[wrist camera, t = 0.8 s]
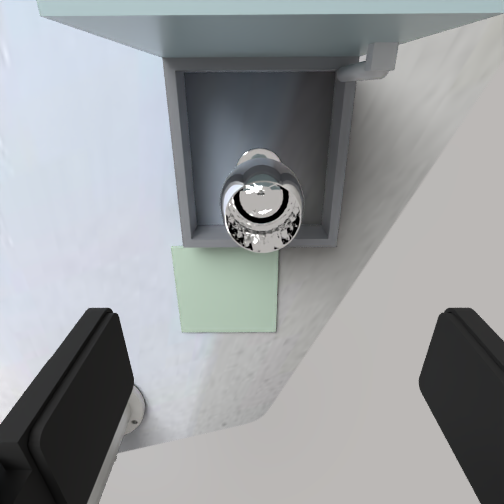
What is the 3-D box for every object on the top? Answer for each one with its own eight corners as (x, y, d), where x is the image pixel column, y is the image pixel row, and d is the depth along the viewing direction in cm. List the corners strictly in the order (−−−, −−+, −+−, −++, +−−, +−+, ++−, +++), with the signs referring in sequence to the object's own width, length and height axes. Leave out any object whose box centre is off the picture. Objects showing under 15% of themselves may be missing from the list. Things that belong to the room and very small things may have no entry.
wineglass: (218, 186, 31) (200, 238, 20) (244, 128, 29) (240, 152, 18) (272, 212, 32) (282, 274, 21) (301, 158, 30) (329, 197, 19)
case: (328, 231, 33) (404, 375, 17) (189, 232, 33) (127, 376, 17) (348, 42, 26) (520, -39, 9) (171, 43, 26) (27, -36, 9)
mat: (275, 329, 39) (275, 332, 38) (182, 330, 39) (181, 332, 38) (278, 245, 34) (278, 247, 33) (171, 246, 34) (170, 247, 33)
